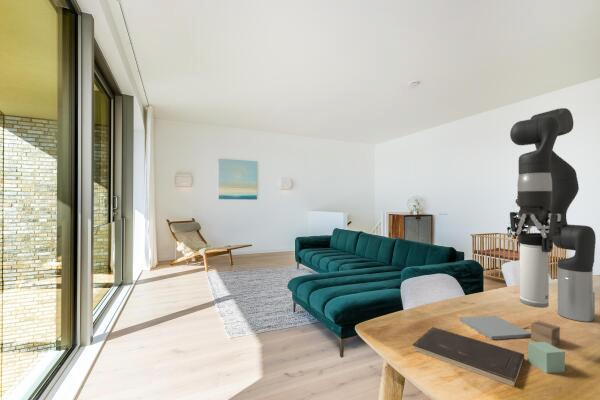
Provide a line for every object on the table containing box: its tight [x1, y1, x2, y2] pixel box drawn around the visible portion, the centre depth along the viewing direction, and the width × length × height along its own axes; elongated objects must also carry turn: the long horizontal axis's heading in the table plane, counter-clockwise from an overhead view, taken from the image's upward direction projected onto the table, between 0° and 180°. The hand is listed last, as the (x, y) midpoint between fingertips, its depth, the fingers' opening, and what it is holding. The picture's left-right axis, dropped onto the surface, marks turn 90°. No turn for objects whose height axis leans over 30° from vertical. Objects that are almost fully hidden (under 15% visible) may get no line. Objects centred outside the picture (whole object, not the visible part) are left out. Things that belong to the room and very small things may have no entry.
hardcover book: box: [412, 326, 525, 387], centre depth 78 cm, size 16×23×2 cm
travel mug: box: [519, 232, 550, 309], centre depth 80 cm, size 6×7×20 cm
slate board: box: [459, 315, 531, 340], centre depth 94 cm, size 14×14×1 cm
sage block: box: [527, 341, 566, 374], centre depth 73 cm, size 5×5×5 cm
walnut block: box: [530, 320, 561, 347], centre depth 86 cm, size 5×5×5 cm
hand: (534, 249), depth 81 cm, fingers closed on travel mug, 6 cm apart
